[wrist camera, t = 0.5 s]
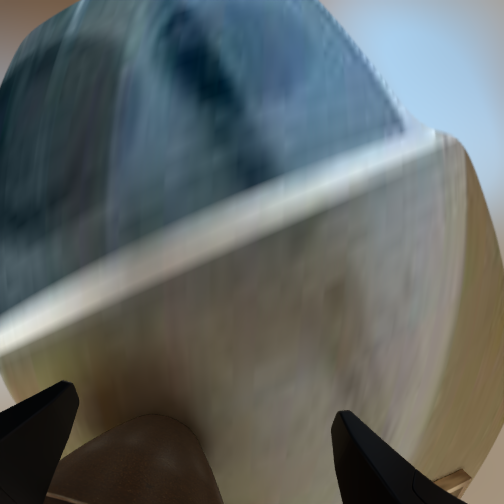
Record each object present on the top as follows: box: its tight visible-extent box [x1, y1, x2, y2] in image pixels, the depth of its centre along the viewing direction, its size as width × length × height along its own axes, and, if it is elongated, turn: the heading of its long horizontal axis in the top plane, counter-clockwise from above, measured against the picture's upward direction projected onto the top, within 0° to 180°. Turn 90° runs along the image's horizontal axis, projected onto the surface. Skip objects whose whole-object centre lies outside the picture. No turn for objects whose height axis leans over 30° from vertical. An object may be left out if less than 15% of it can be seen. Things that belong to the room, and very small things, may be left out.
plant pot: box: [43, 414, 224, 504], centre depth 16 cm, size 15×15×16 cm
